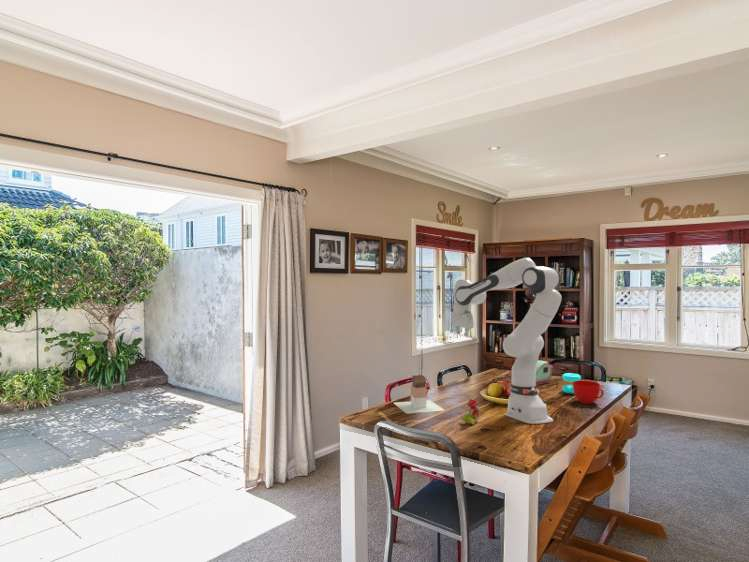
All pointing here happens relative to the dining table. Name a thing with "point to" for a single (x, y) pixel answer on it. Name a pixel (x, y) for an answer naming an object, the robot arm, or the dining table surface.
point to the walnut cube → (418, 381)
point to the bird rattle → (472, 412)
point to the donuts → (570, 378)
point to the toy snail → (543, 372)
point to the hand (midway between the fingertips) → (462, 335)
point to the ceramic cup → (587, 391)
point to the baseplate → (409, 409)
